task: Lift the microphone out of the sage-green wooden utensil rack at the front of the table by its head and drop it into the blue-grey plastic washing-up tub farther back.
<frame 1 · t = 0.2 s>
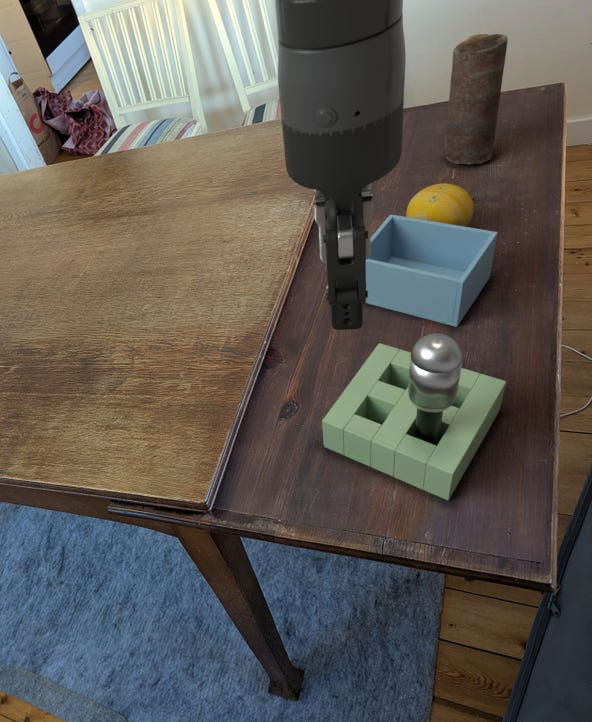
hand: (345, 291, 50), 28 cm above the table, tool pointing down, fingers open, 8 cm apart
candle: (466, 160, 106), on the table
fruit: (436, 235, 94), on the table
rack: (409, 428, 71), on the table
microphone: (424, 456, 68), resting in rack
tub: (420, 289, 87), on the table
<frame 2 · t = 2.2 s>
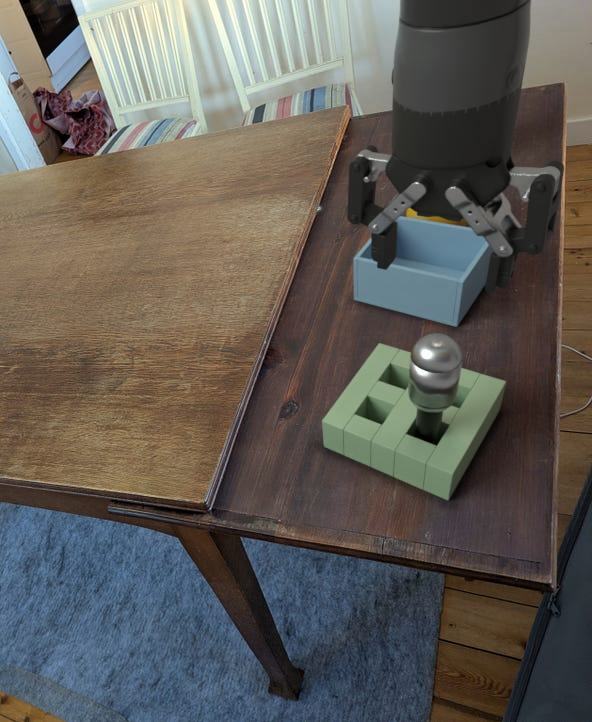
hand: (437, 274, 51), 27 cm above the table, tool pointing down, fingers open, 8 cm apart
nothing on the table moved.
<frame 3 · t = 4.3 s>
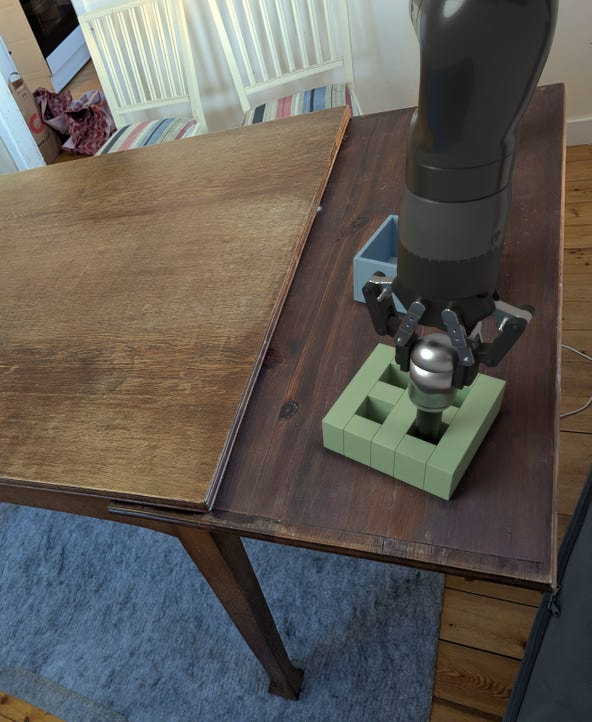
hand: (433, 374, 59), 14 cm above the table, tool pointing down, fingers closed on microphone, 4 cm apart
microphone: (424, 456, 68), resting in rack, touching gripper
everything else where it was.
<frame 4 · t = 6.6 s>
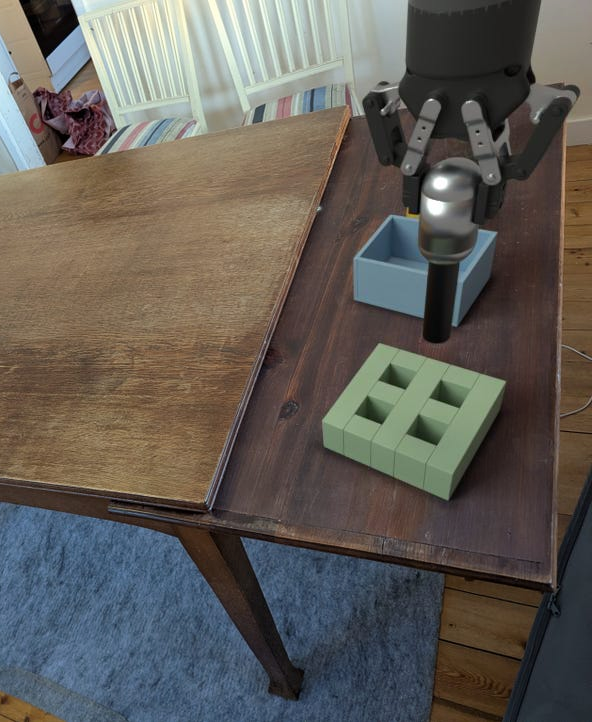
hand: (449, 213, 49), 31 cm above the table, tool pointing down, fingers closed on microphone, 4 cm apart
microphone: (436, 335, 58), point 17 cm above the table, touching gripper
everything else where it was.
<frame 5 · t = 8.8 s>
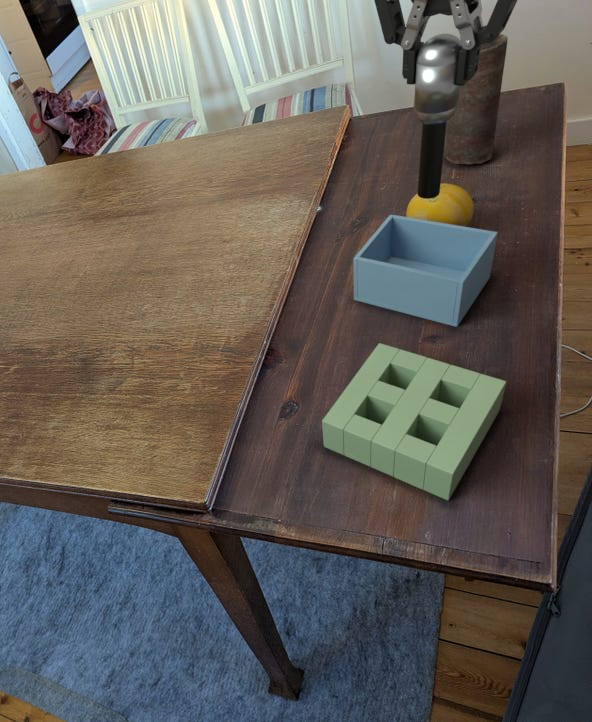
hand: (437, 81, 65), 31 cm above the table, tool pointing down, fingers closed on microphone, 4 cm apart
microphone: (428, 193, 74), point 17 cm above the table, touching gripper
everything else where it was.
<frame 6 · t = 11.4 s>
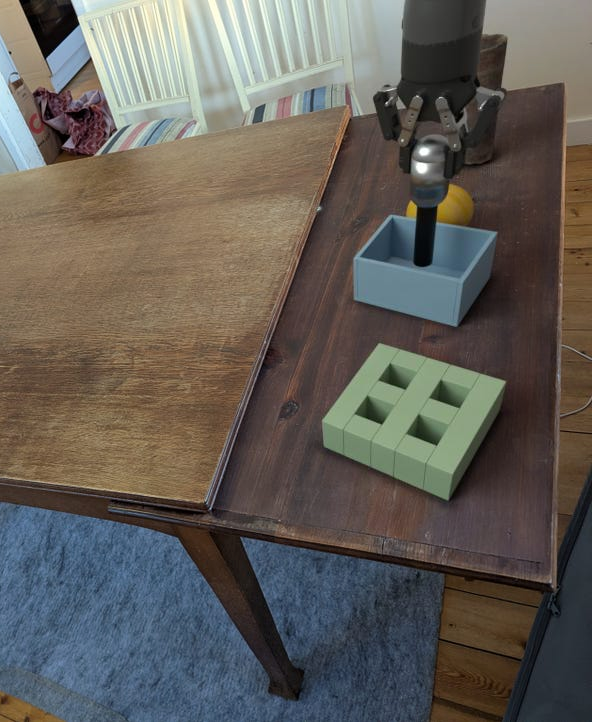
hand: (430, 172, 74), 19 cm above the table, tool pointing down, fingers closed on microphone, 4 cm apart
microphone: (422, 261, 84), point 5 cm above the table, touching gripper
everything else where it was.
when the fingers open (14 cm above the table, at t = 13.2 s): microphone stays where it is, resting on tub.
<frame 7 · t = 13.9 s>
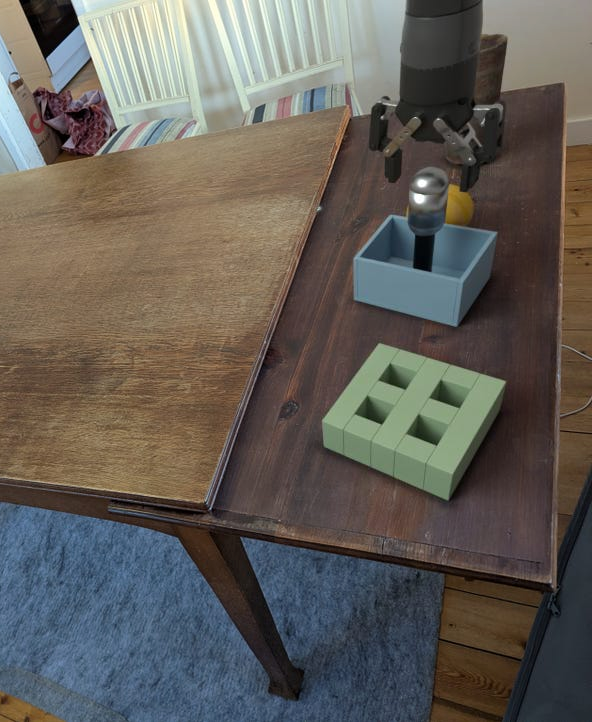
hand: (428, 184, 76), 17 cm above the table, tool pointing down, fingers open, 8 cm apart
microphone: (420, 286, 86), point 1 cm above the table, touching tub
everything else where it was.
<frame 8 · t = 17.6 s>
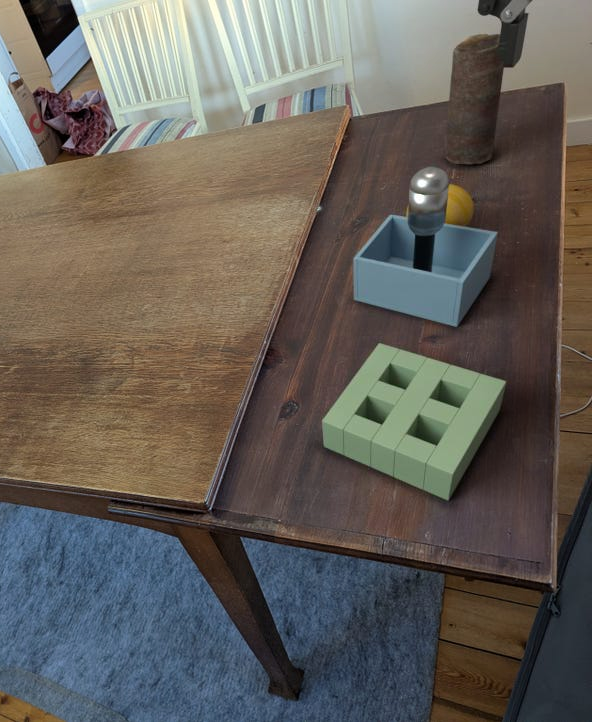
hand: (569, 64, 50), 36 cm above the table, tool pointing down, fingers open, 8 cm apart
nothing on the table moved.
at the end: microphone inside the target area in the tub (0.1 cm from its centre), point 0.6 cm above the tub's base; the gripper is holding nothing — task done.
